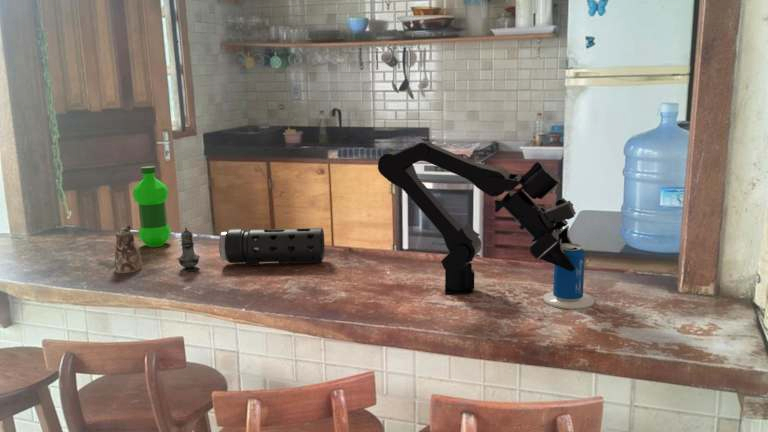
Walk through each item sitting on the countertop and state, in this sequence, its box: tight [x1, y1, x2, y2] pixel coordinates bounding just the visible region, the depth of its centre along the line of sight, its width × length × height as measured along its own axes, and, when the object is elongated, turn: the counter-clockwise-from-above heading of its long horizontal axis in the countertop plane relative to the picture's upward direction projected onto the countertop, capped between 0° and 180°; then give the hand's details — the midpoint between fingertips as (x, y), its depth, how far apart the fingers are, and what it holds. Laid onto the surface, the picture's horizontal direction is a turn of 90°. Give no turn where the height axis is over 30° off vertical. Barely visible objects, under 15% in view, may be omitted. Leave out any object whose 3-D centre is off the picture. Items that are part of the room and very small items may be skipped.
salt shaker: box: [177, 227, 201, 274], centre depth 180 cm, size 6×6×12 cm
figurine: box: [114, 225, 143, 274], centre depth 183 cm, size 7×7×12 cm
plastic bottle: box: [132, 165, 172, 248], centre depth 208 cm, size 10×10×25 cm
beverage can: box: [552, 242, 586, 302], centre depth 147 cm, size 6×6×12 cm
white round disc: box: [543, 291, 595, 310], centre depth 148 cm, size 11×11×1 cm
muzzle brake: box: [218, 227, 326, 266], centre depth 184 cm, size 10×28×10 cm, turn 89°
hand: (576, 264), depth 146 cm, fingers open, 9 cm apart
